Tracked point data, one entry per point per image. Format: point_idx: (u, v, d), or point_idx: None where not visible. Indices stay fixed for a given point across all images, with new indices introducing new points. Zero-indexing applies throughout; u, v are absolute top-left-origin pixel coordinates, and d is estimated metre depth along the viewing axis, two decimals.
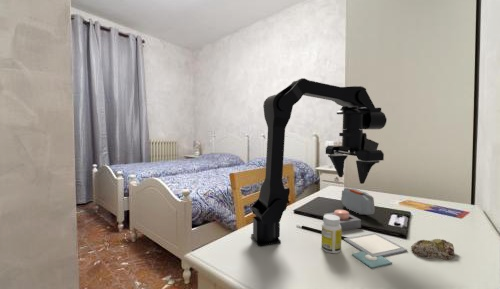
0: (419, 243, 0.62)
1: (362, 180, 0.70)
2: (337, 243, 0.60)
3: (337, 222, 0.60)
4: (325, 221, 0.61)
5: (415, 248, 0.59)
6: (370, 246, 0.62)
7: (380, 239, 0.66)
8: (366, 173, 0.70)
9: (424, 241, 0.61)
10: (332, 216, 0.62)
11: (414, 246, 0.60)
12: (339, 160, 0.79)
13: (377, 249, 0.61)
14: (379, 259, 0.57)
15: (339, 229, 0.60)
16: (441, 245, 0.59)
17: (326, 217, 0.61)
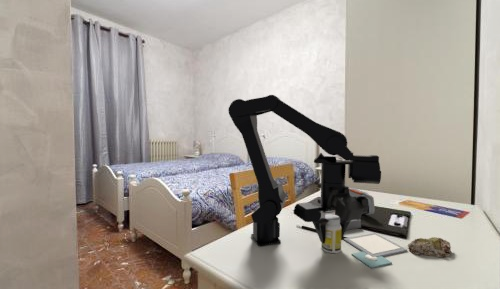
0: (416, 241, 0.63)
1: (320, 238, 0.61)
2: (337, 243, 0.60)
3: (337, 222, 0.60)
4: None
5: (412, 246, 0.60)
6: (370, 246, 0.62)
7: (380, 239, 0.66)
8: (321, 232, 0.60)
9: (421, 239, 0.62)
10: (332, 216, 0.62)
11: (411, 244, 0.61)
12: (340, 218, 0.63)
13: (377, 249, 0.61)
14: (379, 259, 0.57)
15: (339, 229, 0.60)
16: (438, 243, 0.60)
17: (326, 216, 0.61)
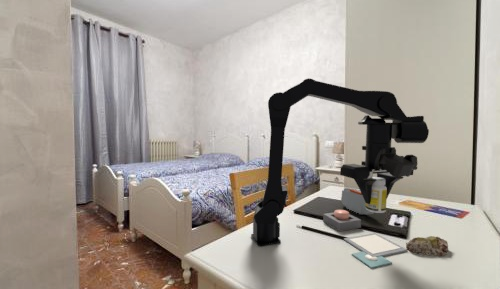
0: (414, 240, 0.64)
1: (365, 199, 0.62)
2: (383, 203, 0.61)
3: (384, 182, 0.61)
4: None
5: (410, 245, 0.61)
6: (370, 246, 0.62)
7: (380, 239, 0.66)
8: (367, 192, 0.61)
9: (419, 238, 0.62)
10: (377, 177, 0.63)
11: (409, 243, 0.62)
12: None
13: (377, 249, 0.61)
14: (379, 259, 0.57)
15: (385, 189, 0.61)
16: (435, 242, 0.60)
17: None
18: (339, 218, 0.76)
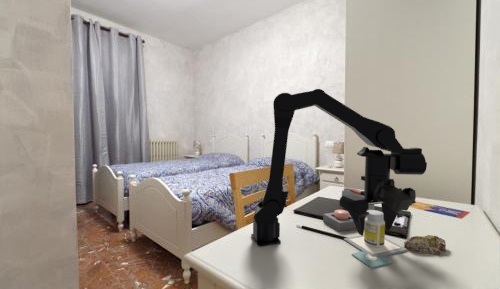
0: (412, 239, 0.64)
1: (358, 230, 0.62)
2: (381, 238, 0.61)
3: (382, 217, 0.62)
4: (369, 216, 0.62)
5: (407, 243, 0.62)
6: (370, 246, 0.62)
7: None
8: (360, 224, 0.61)
9: (416, 237, 0.63)
10: (375, 211, 0.64)
11: (406, 242, 0.62)
12: (388, 209, 0.65)
13: (377, 249, 0.61)
14: (379, 259, 0.57)
15: (383, 224, 0.61)
16: (433, 241, 0.61)
17: (370, 212, 0.63)
18: (339, 218, 0.76)
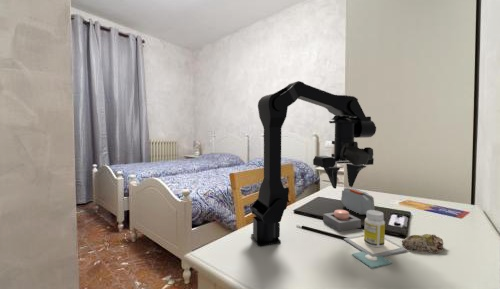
0: (410, 238, 0.65)
1: (332, 184, 0.76)
2: (381, 238, 0.61)
3: (382, 217, 0.62)
4: (369, 216, 0.62)
5: (405, 242, 0.62)
6: (370, 246, 0.62)
7: None
8: (333, 179, 0.74)
9: (414, 236, 0.64)
10: (375, 211, 0.64)
11: (404, 240, 0.63)
12: (351, 169, 0.78)
13: (377, 249, 0.61)
14: (379, 259, 0.57)
15: (383, 224, 0.61)
16: (430, 240, 0.62)
17: (370, 212, 0.63)
18: (339, 218, 0.76)
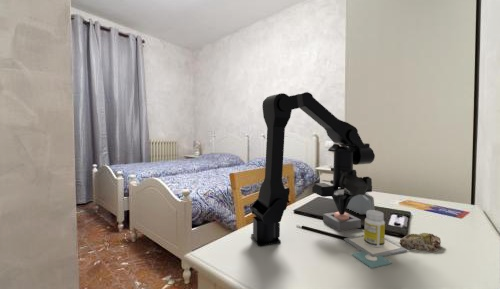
0: (408, 237, 0.66)
1: (339, 210, 0.77)
2: (381, 238, 0.61)
3: (382, 217, 0.62)
4: (369, 216, 0.62)
5: (403, 241, 0.63)
6: (370, 246, 0.62)
7: None
8: (340, 205, 0.76)
9: (412, 234, 0.64)
10: (375, 211, 0.64)
11: (402, 239, 0.64)
12: None
13: (377, 249, 0.61)
14: (379, 259, 0.57)
15: (383, 224, 0.61)
16: (428, 238, 0.63)
17: (370, 212, 0.63)
18: None
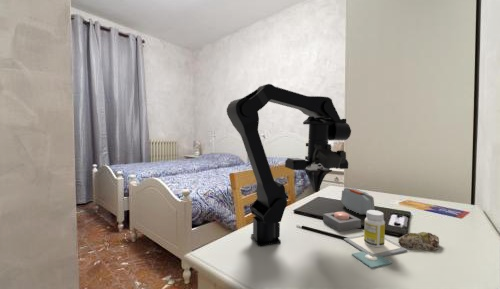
0: (406, 236, 0.66)
1: (313, 188, 0.73)
2: (381, 238, 0.61)
3: (382, 217, 0.62)
4: (369, 216, 0.62)
5: (401, 240, 0.64)
6: (370, 246, 0.62)
7: None
8: (314, 182, 0.72)
9: (411, 234, 0.65)
10: (375, 211, 0.64)
11: (401, 238, 0.64)
12: None
13: (377, 249, 0.61)
14: (379, 259, 0.57)
15: (383, 224, 0.61)
16: (426, 237, 0.63)
17: (370, 212, 0.63)
18: None
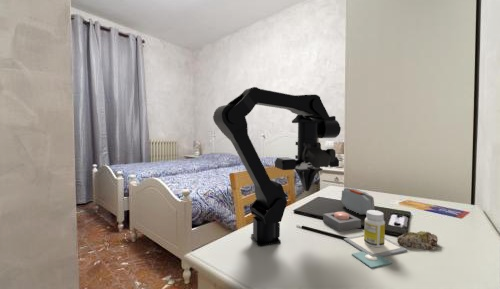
0: (405, 235, 0.67)
1: (304, 187, 0.72)
2: (381, 238, 0.61)
3: (382, 217, 0.62)
4: (369, 216, 0.62)
5: (400, 239, 0.64)
6: (370, 246, 0.62)
7: None
8: (304, 181, 0.71)
9: (409, 233, 0.65)
10: (375, 211, 0.64)
11: (399, 237, 0.65)
12: None
13: (377, 249, 0.61)
14: (379, 259, 0.57)
15: (383, 224, 0.61)
16: (425, 237, 0.63)
17: (370, 212, 0.63)
18: None
